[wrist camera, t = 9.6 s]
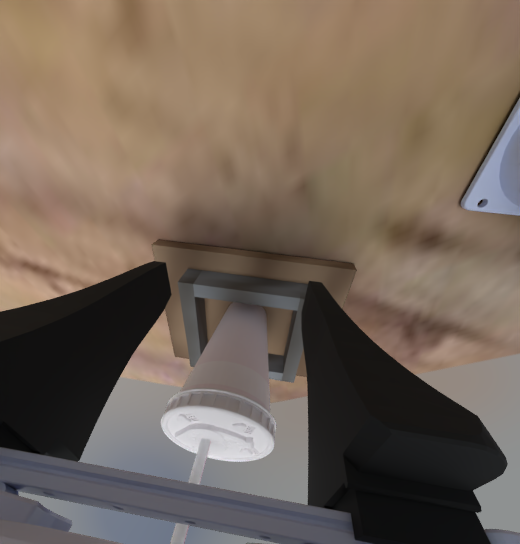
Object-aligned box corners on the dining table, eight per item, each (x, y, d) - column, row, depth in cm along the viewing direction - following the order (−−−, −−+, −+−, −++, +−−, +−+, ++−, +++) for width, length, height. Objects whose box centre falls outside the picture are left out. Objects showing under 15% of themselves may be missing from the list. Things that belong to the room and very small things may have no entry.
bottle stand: (353, 263, 17) (364, 285, 14) (315, 370, 24) (318, 396, 22) (157, 239, 18) (136, 256, 15) (178, 349, 25) (166, 372, 23)
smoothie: (206, 286, 19) (61, 543, 7) (280, 287, 18) (262, 583, 6) (219, 338, 22) (136, 570, 10) (282, 340, 21) (273, 599, 9)
